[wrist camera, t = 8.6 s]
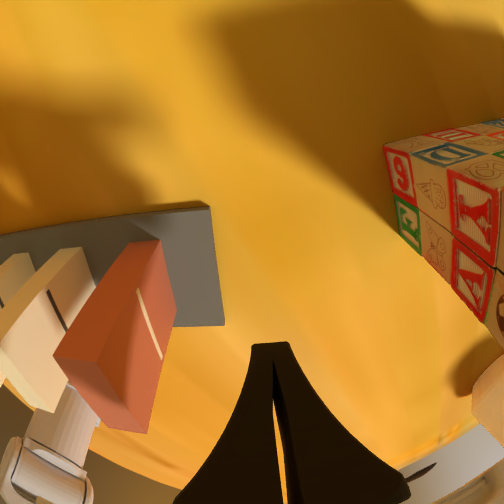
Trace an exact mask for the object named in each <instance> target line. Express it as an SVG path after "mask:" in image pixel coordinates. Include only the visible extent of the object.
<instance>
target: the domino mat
mask: <svg viewBox="0 0 504 504" xmlns="http://www.w3.org/2000/svg"><path fill="white" fill-rule="evenodd" d="M152 240H161V244H162V249H163V254H164V258H165V263H166V267H167V271H168V276H169V280H170V284H171V288H172V292H173V296H174V300H175V304H176V307H177V312H176V316H175V319H174V323H173V327H197V326H225V317H224V311H223V304H222V297H221V290H220V283H219V275H218V268H217V260H216V252H215V244H214V236H213V228H212V219H211V211H210V206H207V207H196V208H185V209H174V210H164V211H155V212H146V213H137V214H129V215H121V216H113V217H106V218H98V219H91V220H84V221H78V222H71V223H65V224H59V225H53V226H47V227H41V228H35V229H30V230H24V231H19V232H14V233H9V234H4V235H0V265H2V264H3V263H4V262H5V261H6V260H7V259H8V258H10V257H11V256H12V255H13V254H18V253H27V252H28V253H29V255H30V258H31V261H32V264H33V266H34V269H35V271H36V272H37V271H38V270H39V269H40V268H41V267H42V266H43V265H44V264H45V263H46V262H47V261H48V260H49V259H50V258H51V257H52V256H53V255H54V254H55V253H56V252H57V251H58V250H60V249H65V248H75V247H82V248H83V251H84V254H85V257H86V260H87V264H88V267H89V269H90V272H91V275H92V278H93V281H94V284H95V286H97V285H98V284H99V282H100V281H101V279H102V278H103V277H104V275H105V274H106V272H107V271H108V270H109V268H110V267H111V266H112V264H113V263H114V262H115V260H116V259H117V258H118V256H119V255H120V254H121V253H122V251H123V250H124V249H125V247H126V246H127V245H128V244H129V243H130V242H141V241H152Z"/></svg>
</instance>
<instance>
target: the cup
mask: <svg viewBox="0 0 504 504" xmlns="http://www.w3.org/2000/svg"><path fill="white" fill-rule="evenodd" d="M471 412H472V415H473V416H474V417H475V418H476V419H477V420H478V421H479V422H480V423H481V424H482V425H483V426H484V427H485V428H486V429H487V430H488V431H489V432H490V434H491V435H492V436H493V437H494V438H495V439H496V440H497V441H498V442H499V443H500V444H501V445H502V446H503V447H504V354H503V355H501V356H500V357H499V358H498V359H496V360H495V361H494V362H493V363H492V364H491V365H490V366H489V367H488V368H487V369H486V370H485V371H484V372H483V373H482V374H481V375H480V377H479V378H478V379H477V381H476V382H475V384H474V386H473V388H472V405H471Z"/></svg>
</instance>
